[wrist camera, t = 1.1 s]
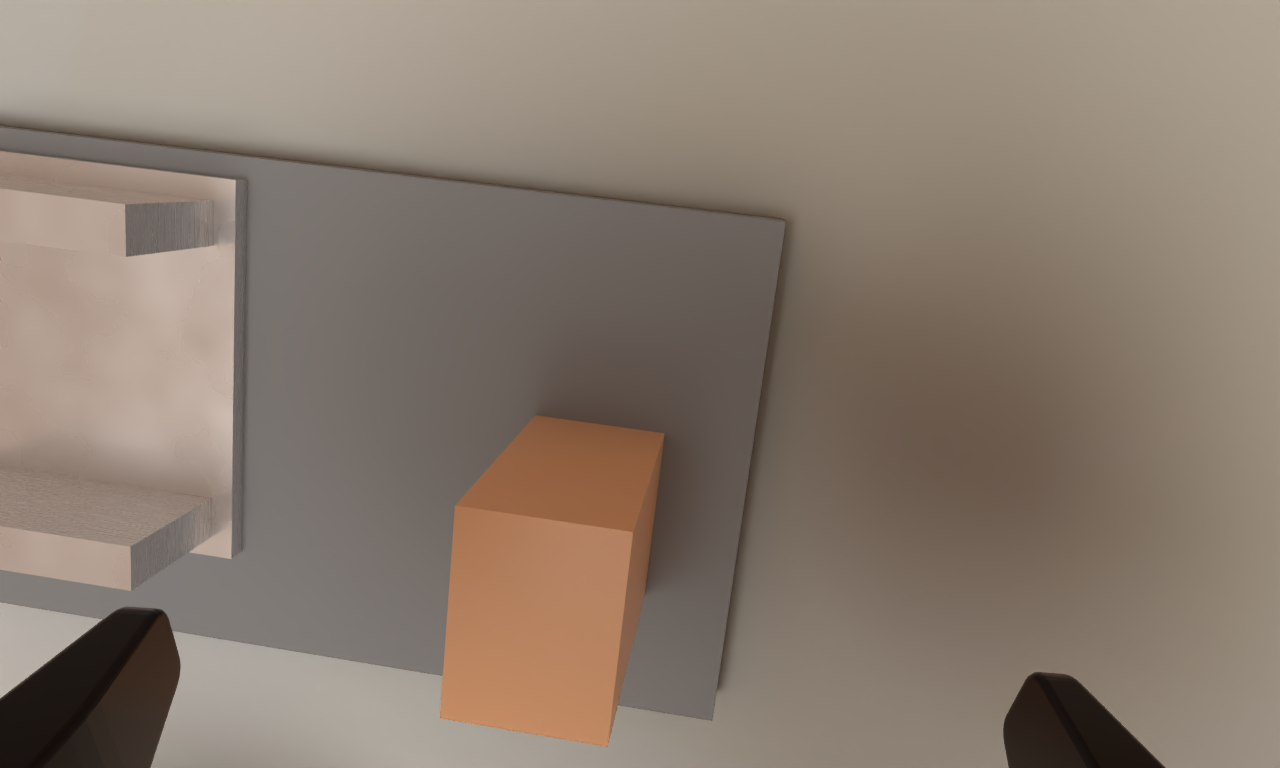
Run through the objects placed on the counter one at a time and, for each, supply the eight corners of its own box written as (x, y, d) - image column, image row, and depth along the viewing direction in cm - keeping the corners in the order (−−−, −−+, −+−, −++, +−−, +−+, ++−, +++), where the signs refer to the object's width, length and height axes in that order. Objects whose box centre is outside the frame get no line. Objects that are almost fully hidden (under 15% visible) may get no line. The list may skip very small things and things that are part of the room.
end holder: (242, 550, 23) (154, 616, 19) (-21, 509, 23) (-151, 565, 20) (247, 179, 21) (149, 180, 17) (-41, 144, 21) (-191, 138, 18)
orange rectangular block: (644, 594, 22) (607, 746, 16) (520, 575, 22) (439, 718, 16) (664, 433, 21) (633, 532, 15) (535, 414, 21) (455, 505, 15)
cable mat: (713, 694, 23) (712, 721, 22) (-15, 574, 25) (-51, 593, 24) (783, 219, 21) (785, 221, 20) (-40, 120, 22) (-82, 117, 21)
